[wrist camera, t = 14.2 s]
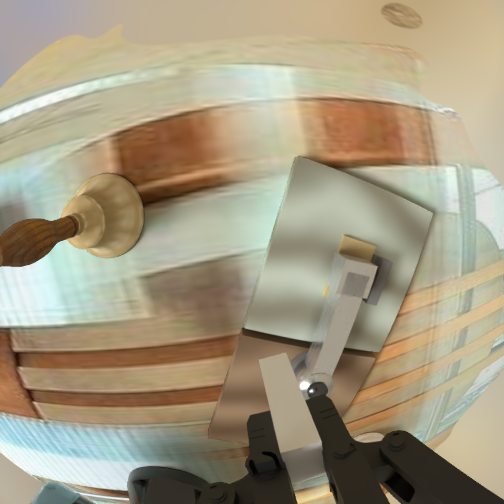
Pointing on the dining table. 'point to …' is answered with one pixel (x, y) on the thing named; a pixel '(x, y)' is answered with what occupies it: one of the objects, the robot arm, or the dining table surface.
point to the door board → (321, 285)
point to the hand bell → (81, 224)
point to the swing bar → (335, 323)
